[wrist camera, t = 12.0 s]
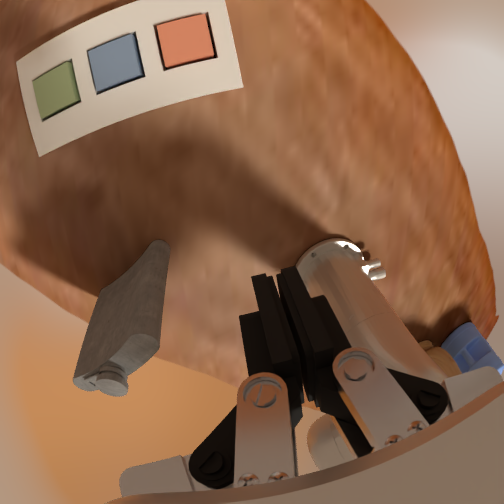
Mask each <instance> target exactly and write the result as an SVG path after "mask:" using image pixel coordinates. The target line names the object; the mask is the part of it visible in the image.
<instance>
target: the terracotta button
mask: <svg viewBox="0 0 504 504" xmlns="http://www.w3.org/2000/svg"><path fill="white" fill-rule="evenodd" d="M157 30H158V35H159V40H160V44H161V49H162V53H163V58H164V62H165V67H167V68H168V69H170V68H174V67H177V66H181V65H185V64H189V63H193V62H197V61H201V60H206V59H211V58H213V56H214V52H213V48H212V43H211V38H210V34H209V29H208V24H207V20H206V15H205V14H201V15H197V16H192V17H188V18H183V19H179V20H175V21H172V22H168V23H164V24H161V25H157Z"/></svg>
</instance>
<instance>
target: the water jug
mask: <svg viewBox="0 0 504 504" xmlns="http://www.w3.org/2000/svg"><path fill="white" fill-rule="evenodd" d="M440 348H442V349H444V350H446V351H447V352H448V353H449V354H450V355H451V356H452V358H453V359H454V360H455V362H456V363H457V365H458V367H459V369H460V371H461V372H462V374H463V373H466V372H469V371H472V370H476V369H479V368H481V367H486V366H490V367H494V368H495V369H496V370H498V372H499V373H500V375H501V373H502V371H503V369H504V364H503V363H502V361H501V359H500V358H499V357H498V356H497V355H496V353H495V352H494V351H493V349H492V348H491V347H490V345H489V343H488V342H487V341H486V339H484V338H483V336H482V335H481V334H480V333H479V331H478V330H477V329H476V327H475V325H474V324H473V323H471V322H467V323H465V324H463V325H461V326H459V327H458V328H457V329H456V330H454V331H453V332H452V333H451V334H450V335H449V336H448V337H447V338H446V340H445V341H444V342H443V344H442V345H441V347H440Z"/></svg>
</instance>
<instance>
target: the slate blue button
mask: <svg viewBox="0 0 504 504" xmlns="http://www.w3.org/2000/svg"><path fill="white" fill-rule="evenodd" d="M88 54H89V59H90V64H91V68H92V73H93V77H94V82H95V86H96V90H97V91H106V90H109V89H111V88H114V87H116V86H119V85H121V84H124V83H127V82H130V81H132V80H135V79H138V78H141V77H144V76H145V72H144V67H143V63H142V58H141V54H140V49H139V45H138V40H137V38H136V37H135V36H134V35H132V34H130V35H127V36H124V37H122V38H119V39H116V40H114V41H111V42H109V43H106V44H104V45H102V46H99V47H97V48H95V49H92V50H90V51H88Z"/></svg>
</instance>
